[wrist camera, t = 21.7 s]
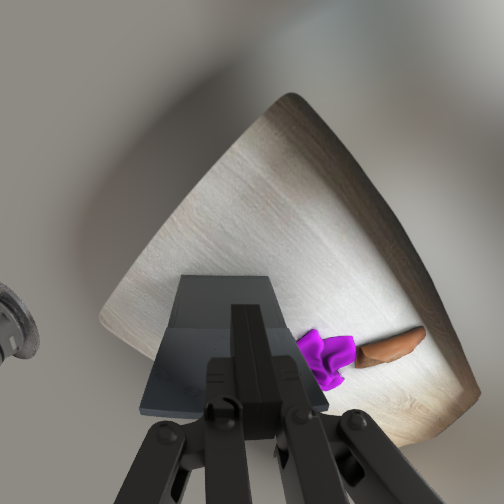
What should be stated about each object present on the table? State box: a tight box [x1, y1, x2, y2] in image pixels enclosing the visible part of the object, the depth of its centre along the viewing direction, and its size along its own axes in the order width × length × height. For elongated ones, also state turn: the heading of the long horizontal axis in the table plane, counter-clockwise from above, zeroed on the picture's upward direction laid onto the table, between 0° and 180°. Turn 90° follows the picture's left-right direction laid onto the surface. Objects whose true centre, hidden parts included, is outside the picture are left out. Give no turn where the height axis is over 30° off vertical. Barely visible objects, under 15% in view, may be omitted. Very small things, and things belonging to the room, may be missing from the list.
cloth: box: [297, 329, 357, 391], centre depth 54 cm, size 22×19×6 cm
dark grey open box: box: [167, 275, 287, 329], centre depth 42 cm, size 14×15×15 cm
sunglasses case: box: [355, 326, 426, 368], centre depth 56 cm, size 18×7×7 cm
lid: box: [139, 328, 329, 419], centre depth 25 cm, size 14×15×1 cm
